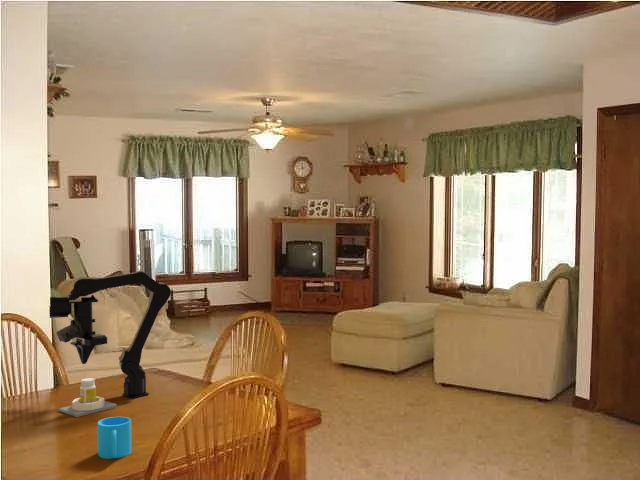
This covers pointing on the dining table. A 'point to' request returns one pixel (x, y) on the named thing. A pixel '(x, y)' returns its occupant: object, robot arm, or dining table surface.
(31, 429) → the dining table surface
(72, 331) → the robot arm
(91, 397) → the supplement bottle
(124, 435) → the mug
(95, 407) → the holder board
